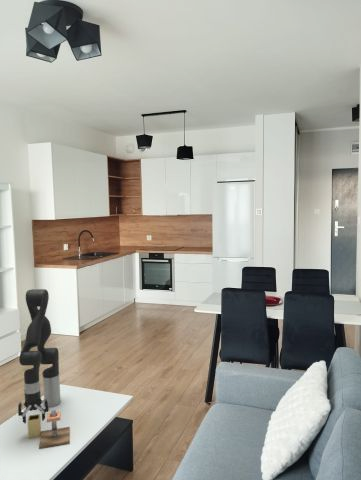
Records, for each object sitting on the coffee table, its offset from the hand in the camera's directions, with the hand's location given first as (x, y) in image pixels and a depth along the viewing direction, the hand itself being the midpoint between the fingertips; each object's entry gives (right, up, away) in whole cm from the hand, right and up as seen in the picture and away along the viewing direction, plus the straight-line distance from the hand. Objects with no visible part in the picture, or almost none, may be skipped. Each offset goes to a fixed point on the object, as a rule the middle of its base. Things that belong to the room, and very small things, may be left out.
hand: (34, 421), depth 207 cm
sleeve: (0, -7, +1) cm, 7 cm away
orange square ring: (+11, +3, -4) cm, 12 cm away
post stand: (+12, -7, -3) cm, 14 cm away
